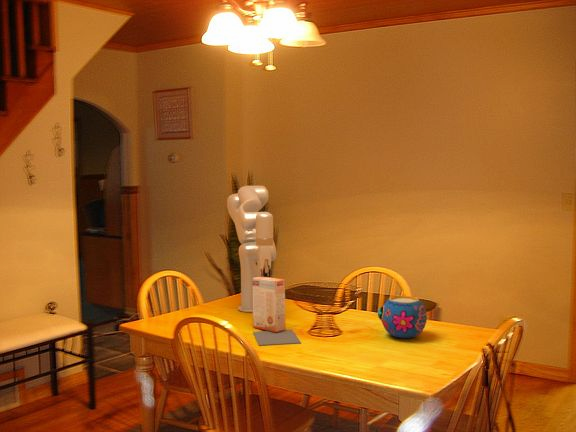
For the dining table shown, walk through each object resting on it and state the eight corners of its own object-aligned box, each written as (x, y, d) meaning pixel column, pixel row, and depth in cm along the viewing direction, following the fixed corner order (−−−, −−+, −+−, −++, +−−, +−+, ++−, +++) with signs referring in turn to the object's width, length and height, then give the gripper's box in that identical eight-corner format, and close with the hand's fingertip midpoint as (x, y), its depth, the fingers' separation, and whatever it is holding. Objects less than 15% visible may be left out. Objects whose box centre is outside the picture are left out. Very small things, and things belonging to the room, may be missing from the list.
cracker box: (286, 330, 236) (285, 279, 235) (275, 333, 232) (274, 280, 231) (263, 325, 246) (262, 275, 245) (252, 327, 242) (251, 277, 241)
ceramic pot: (392, 328, 240) (392, 292, 239) (433, 335, 230) (434, 297, 229) (372, 338, 226) (372, 300, 225) (415, 346, 216) (416, 306, 215)
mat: (253, 332, 235) (253, 331, 235) (292, 330, 237) (292, 329, 237) (258, 345, 217) (258, 344, 217) (301, 343, 220) (301, 342, 220)
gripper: (253, 240, 254) (254, 282, 256) (257, 244, 240) (258, 288, 241) (270, 240, 256) (271, 281, 257) (276, 244, 241) (276, 288, 242)
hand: (265, 285), depth 249 cm, fingers closed
